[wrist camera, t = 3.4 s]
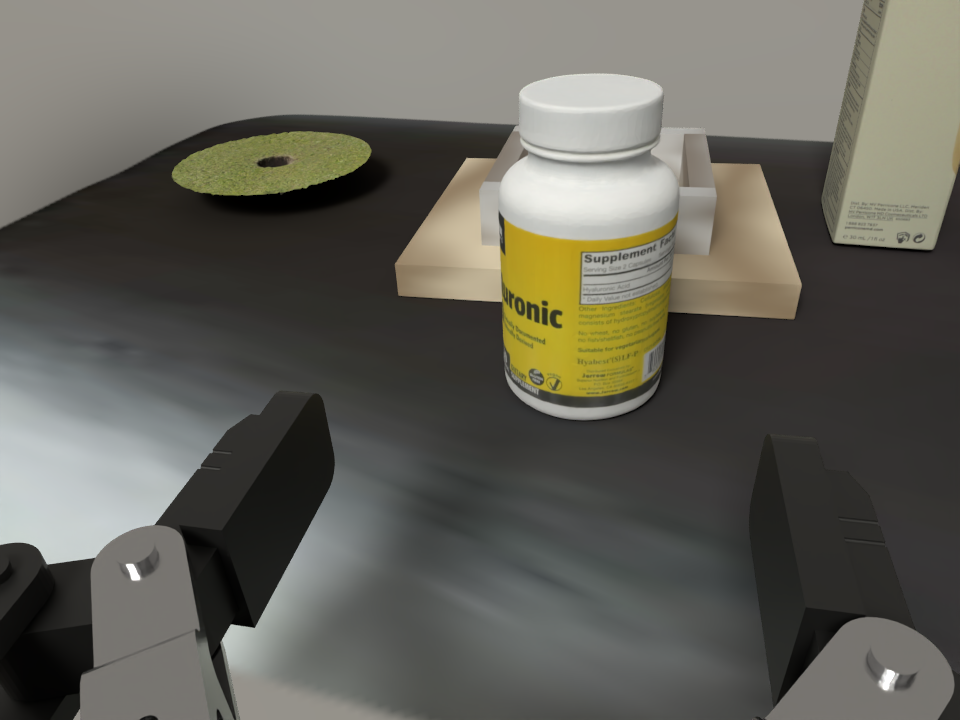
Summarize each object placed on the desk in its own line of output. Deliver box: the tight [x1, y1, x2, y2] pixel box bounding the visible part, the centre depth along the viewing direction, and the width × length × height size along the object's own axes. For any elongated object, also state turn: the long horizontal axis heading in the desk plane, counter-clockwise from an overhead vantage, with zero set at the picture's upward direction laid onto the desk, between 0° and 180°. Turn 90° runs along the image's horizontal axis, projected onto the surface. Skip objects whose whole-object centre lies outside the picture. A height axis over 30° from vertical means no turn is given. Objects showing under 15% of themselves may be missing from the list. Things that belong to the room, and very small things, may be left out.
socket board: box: [395, 126, 802, 319], centre depth 34 cm, size 16×14×4 cm
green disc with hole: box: [172, 131, 371, 195], centre depth 43 cm, size 11×11×2 cm
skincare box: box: [822, 0, 960, 250], centre depth 32 cm, size 6×4×12 cm
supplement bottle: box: [498, 74, 680, 420], centre depth 23 cm, size 5×5×10 cm
